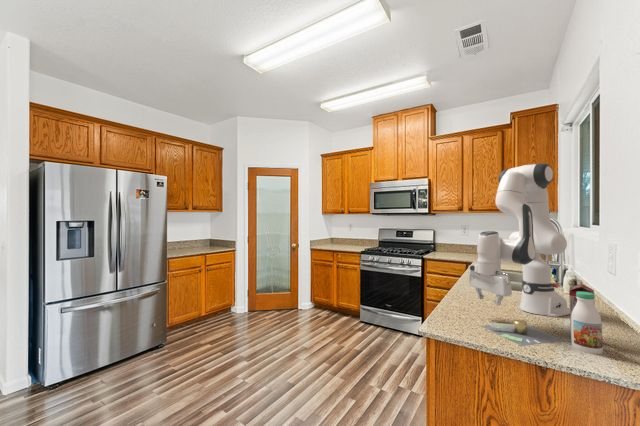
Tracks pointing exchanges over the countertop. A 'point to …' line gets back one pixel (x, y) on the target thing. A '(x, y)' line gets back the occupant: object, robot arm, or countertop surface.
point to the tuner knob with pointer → (513, 326)
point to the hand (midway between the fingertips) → (488, 301)
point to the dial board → (524, 335)
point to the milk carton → (573, 296)
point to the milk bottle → (586, 325)
